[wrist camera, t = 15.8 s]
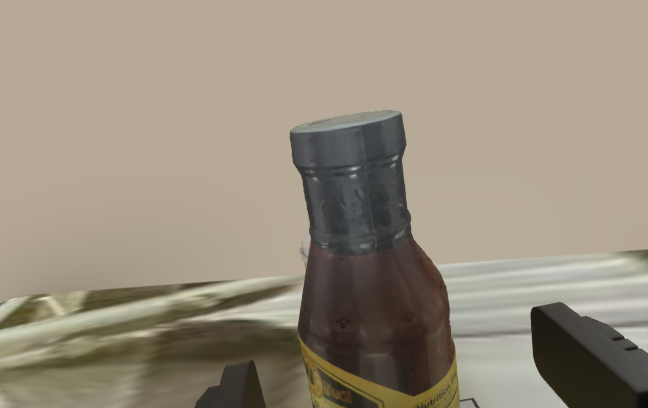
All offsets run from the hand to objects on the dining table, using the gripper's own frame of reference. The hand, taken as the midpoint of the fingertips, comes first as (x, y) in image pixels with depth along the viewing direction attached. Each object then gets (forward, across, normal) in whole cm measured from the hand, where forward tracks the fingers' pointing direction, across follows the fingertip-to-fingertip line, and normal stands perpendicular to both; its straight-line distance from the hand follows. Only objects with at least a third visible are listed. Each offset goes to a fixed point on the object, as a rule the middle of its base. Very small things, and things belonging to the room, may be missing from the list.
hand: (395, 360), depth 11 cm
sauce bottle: (+5, 0, +13) cm, 14 cm away
